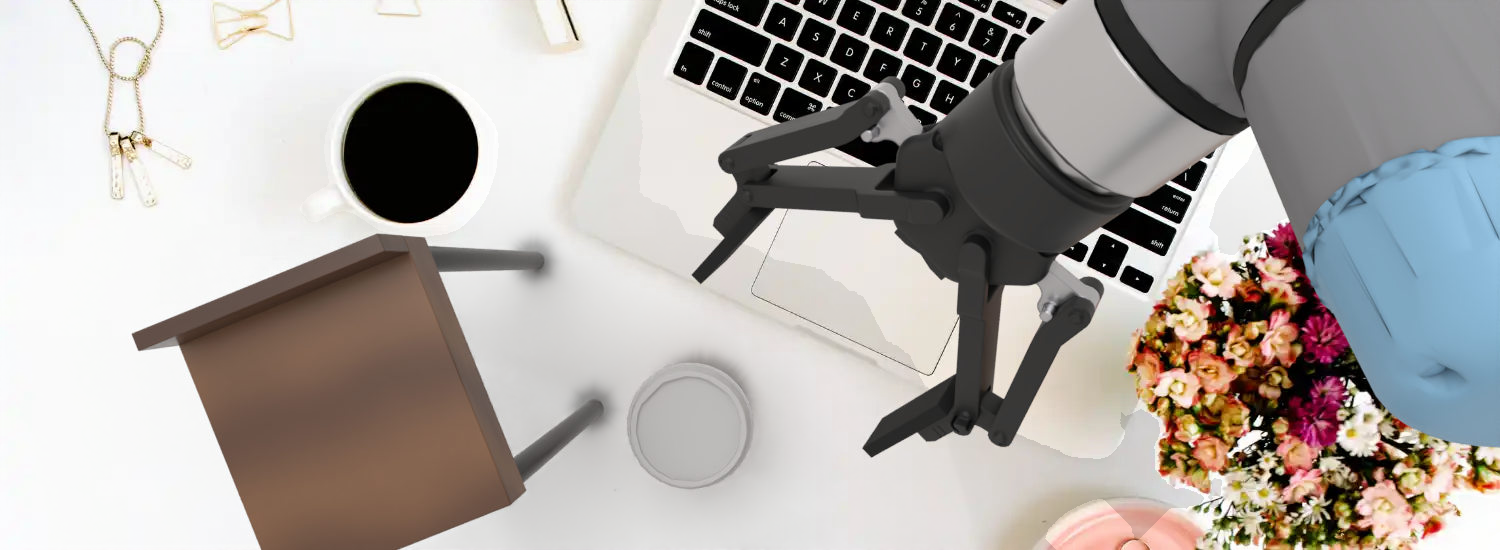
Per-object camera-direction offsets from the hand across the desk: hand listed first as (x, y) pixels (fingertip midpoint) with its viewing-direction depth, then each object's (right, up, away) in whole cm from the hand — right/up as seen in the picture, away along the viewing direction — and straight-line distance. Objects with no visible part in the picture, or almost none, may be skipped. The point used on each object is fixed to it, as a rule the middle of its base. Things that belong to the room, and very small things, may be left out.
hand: (792, 352), depth 49 cm
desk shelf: (-25, -3, +1) cm, 25 cm away
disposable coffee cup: (-7, -7, +26) cm, 28 cm away
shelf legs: (-24, -3, +26) cm, 36 cm away
